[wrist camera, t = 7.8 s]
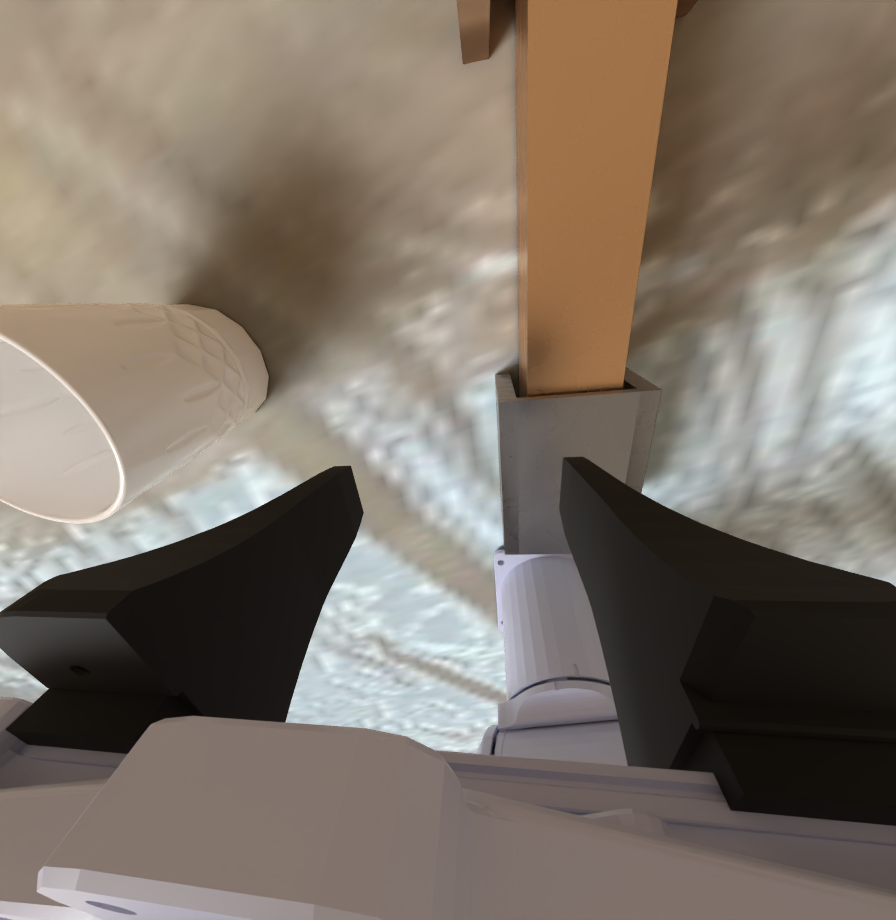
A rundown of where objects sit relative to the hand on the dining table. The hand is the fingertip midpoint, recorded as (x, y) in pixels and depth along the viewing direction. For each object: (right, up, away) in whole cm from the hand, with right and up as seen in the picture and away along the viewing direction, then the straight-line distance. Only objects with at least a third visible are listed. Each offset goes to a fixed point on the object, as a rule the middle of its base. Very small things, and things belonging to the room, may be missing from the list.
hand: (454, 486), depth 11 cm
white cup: (-14, +7, +9) cm, 18 cm away
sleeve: (+6, +2, +9) cm, 11 cm away
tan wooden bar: (+5, +12, +4) cm, 13 cm away
